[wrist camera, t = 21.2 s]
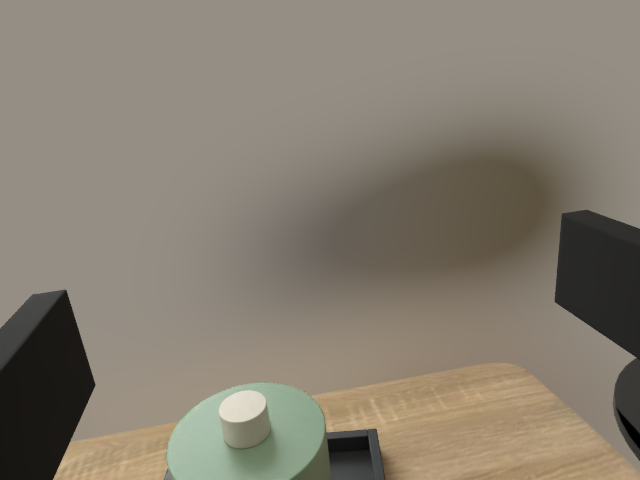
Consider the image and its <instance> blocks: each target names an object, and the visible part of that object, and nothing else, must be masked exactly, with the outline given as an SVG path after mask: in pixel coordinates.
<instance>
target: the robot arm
mask: <svg viewBox="0 0 640 480" xmlns="http://www.w3.org/2000/svg"><path fill="white" fill-rule="evenodd" d="M555 302H556V303H557V304H559V305H560V306H562V307H563V308H564V309H566V310H567V311H569V312H571V313H572V314H573V315H575V316H576V317H578V318H579V319H581V320H582V321H584V322H585V323H587V324H588V325H590V326H591V327H593V328H594V329H595V330H597V331H598V332H600V333H601V334H603V335H604V336H606V337H607V338H609V339H610V340H612V341H613V342H615V343H616V344H617V345H619V346H620V347H622V348H623V349H625V350H626V351H628V352H629V353H631V354H632V355H634V356H635V357H637V358H638V359H640V229H639V228H636V227H633V226H631V225H627V224H625V223H622V222H619V221H616V220H614V219H611V218H608V217H605V216H602V215H600V214H597V213H594V212H591V211H589V210H583V211H576V212H569V213H563V214H562V220H561V232H560V244H559V255H558V268H557V279H556V292H555ZM94 387H95V382H94V379H93V375H92V372H91V369H90V366H89V362H88V359H87V356H86V353H85V349H84V346H83V343H82V340H81V337H80V333H79V330H78V327H77V323H76V320H75V317H74V313H73V310H72V307H71V304H70V301H69V297H68V294H67V291H66V290H61V291H54V292H47V293H41V294H34V295H32V296H31V297H30V298H29V299H28V300H27V301H26V302H25V303H24V304H23V305H22V306H21V307H20V308H19V309H18V310H17V312H16V313H15V314H14V315H13V316H12V317H11V318H10V319H9V320H8V321H7V322H6V323H5V325H4V326H2V327H1V329H0V480H53V478H54V476H55V474H56V472H57V469H58V467H59V465H60V463H61V460H62V458H63V456H64V454H65V452H66V449H67V447H68V445H69V443H70V440H71V438H72V436H73V434H74V432H75V429H76V427H77V425H78V423H79V421H80V418H81V416H82V414H83V412H84V409H85V407H86V405H87V403H88V400H89V398H90V396H91V394H92V392H93V389H94Z"/></svg>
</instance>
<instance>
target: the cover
mask: <svg viewBox="0 0 640 480" xmlns="http://www.w3.org/2000/svg"><path fill="white" fill-rule="evenodd" d="M166 459H167V465H168V469H169V473H170V477H171V480H332V479H331V469H330V460H329V451H328V442H327V433H326V424H325V418H324V415H323V412H322V410H321V408H320V406H319V405H318V404H317V402H316V401H315V400H314V399H313V398H312V397H311V396H310V395H308V394H307V393H305V392H304V391H302V390H300V389H298V388H295V387H292V386H289V385H284V384H279V383H267V382H264V383H251V384H245V385H240V386H236V387H233V388H229V389H227V390H224V391H221V392H219V393H217V394H215V395H213V396H211V397H209V398H207V399H205V400H204V401H202V402H201V403H199V404H198V405H197V406H195V407H194V408H193V409H192V410H190V411H189V412H188V413H187V414H186V415H185V416H184V417H183V418H182V420H181V421H180V422H179V423H178V425H177V426H176V428H175V429H174V431H173V433H172V435H171V437H170V439H169V443H168V446H167V452H166Z"/></svg>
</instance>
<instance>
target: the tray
mask: <svg viewBox="0 0 640 480" xmlns="http://www.w3.org/2000/svg"><path fill="white" fill-rule="evenodd" d="M327 442H328V451H329V460H330V469H331V479H332V480H385V476H384V470H383V464H382V458H381V452H380V446H379V440H378V434H377V429H368V431H367V430H355V431H342V432H330V433H327ZM164 480H171V477H170V473H169V469H167V472H166V475H165V477H164Z"/></svg>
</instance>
